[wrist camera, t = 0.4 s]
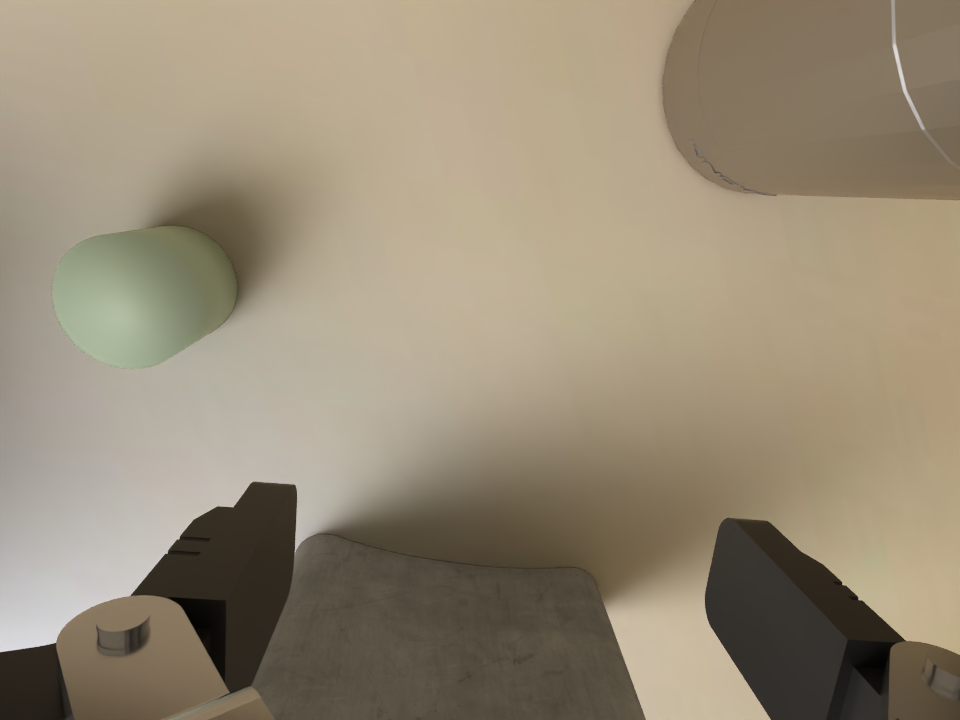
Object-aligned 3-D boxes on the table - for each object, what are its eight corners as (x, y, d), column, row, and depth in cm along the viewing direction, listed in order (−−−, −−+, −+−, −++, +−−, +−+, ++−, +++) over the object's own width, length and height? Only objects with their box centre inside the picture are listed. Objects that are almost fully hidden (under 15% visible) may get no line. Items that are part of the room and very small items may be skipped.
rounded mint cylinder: (147, 203, 27) (80, 208, 22) (256, 261, 27) (214, 277, 23) (104, 304, 28) (32, 329, 23) (210, 356, 28) (162, 391, 24)
